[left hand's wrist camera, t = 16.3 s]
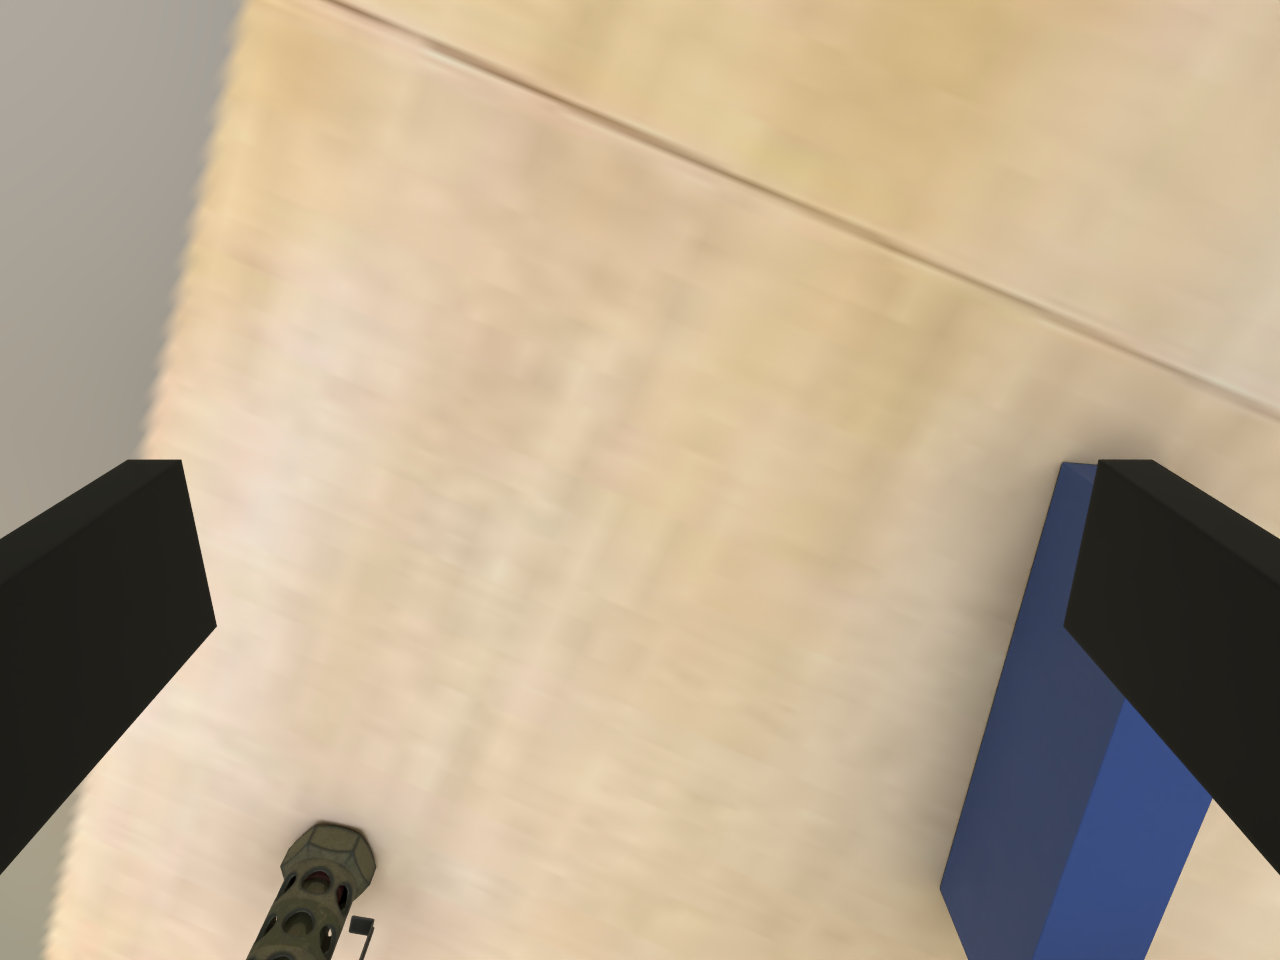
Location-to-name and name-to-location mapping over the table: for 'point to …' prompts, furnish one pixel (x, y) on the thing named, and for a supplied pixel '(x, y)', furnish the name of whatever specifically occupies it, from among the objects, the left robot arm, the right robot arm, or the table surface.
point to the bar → (1066, 789)
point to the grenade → (317, 896)
